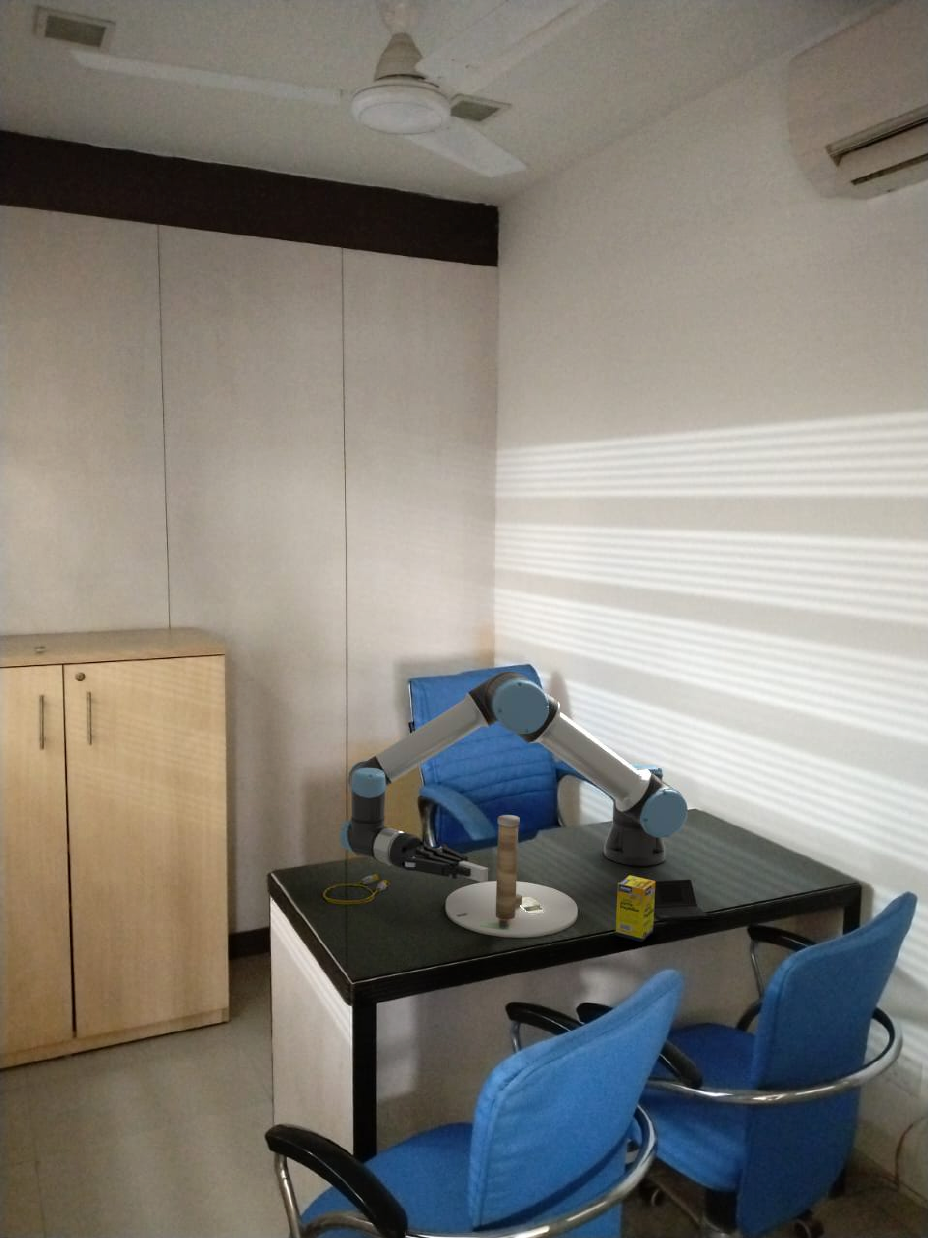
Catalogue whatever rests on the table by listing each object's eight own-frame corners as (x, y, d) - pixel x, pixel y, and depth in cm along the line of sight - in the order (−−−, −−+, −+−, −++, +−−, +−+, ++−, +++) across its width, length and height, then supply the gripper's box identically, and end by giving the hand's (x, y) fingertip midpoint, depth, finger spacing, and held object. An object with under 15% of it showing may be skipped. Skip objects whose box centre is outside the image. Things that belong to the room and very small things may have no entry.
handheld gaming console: (666, 918, 207) (657, 871, 212) (648, 928, 212) (639, 882, 218) (712, 920, 211) (702, 873, 216) (693, 929, 217) (684, 884, 222)
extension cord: (400, 899, 218) (401, 890, 218) (332, 910, 211) (332, 901, 211) (379, 880, 229) (380, 872, 229) (313, 890, 222) (313, 881, 222)
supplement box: (642, 943, 198) (645, 889, 197) (614, 935, 201) (617, 883, 200) (653, 933, 203) (656, 880, 202) (626, 926, 206) (628, 874, 205)
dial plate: (574, 889, 226) (574, 883, 226) (580, 941, 198) (581, 934, 198) (450, 883, 227) (450, 877, 227) (439, 933, 200) (439, 927, 199)
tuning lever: (502, 898, 215) (505, 801, 213) (523, 900, 214) (526, 802, 212) (491, 927, 199) (495, 823, 197) (513, 930, 199) (517, 824, 196)
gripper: (418, 858, 224) (504, 884, 209) (378, 873, 214) (465, 902, 199) (419, 825, 223) (505, 850, 209) (379, 839, 213) (466, 865, 199)
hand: (485, 875), depth 204 cm, fingers closed
